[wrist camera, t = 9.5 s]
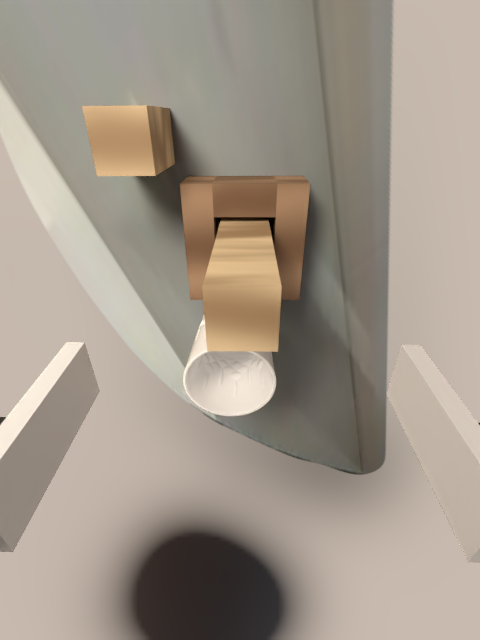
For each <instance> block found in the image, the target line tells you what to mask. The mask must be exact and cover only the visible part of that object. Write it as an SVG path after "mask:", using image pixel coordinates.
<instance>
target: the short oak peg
mask: <svg viewBox="0 0 480 640" xmlns="http://www.w3.org/2000/svg"><path fill="white" fill-rule="evenodd" d="M82 108H83V112H84V117H85V122H86V126H87V131H88V136H89V141H90V145H91V150H92V155H93V159H94V164H95V169H96V174H97V176H156V175H158V174H159V173H161V172H163V171H164V170H166V169H167V168H169V167H171V166H172V165H174V164H175V157H174V147H173V137H172V127H171V116H170V108H162V107H154V106H82Z"/></svg>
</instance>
